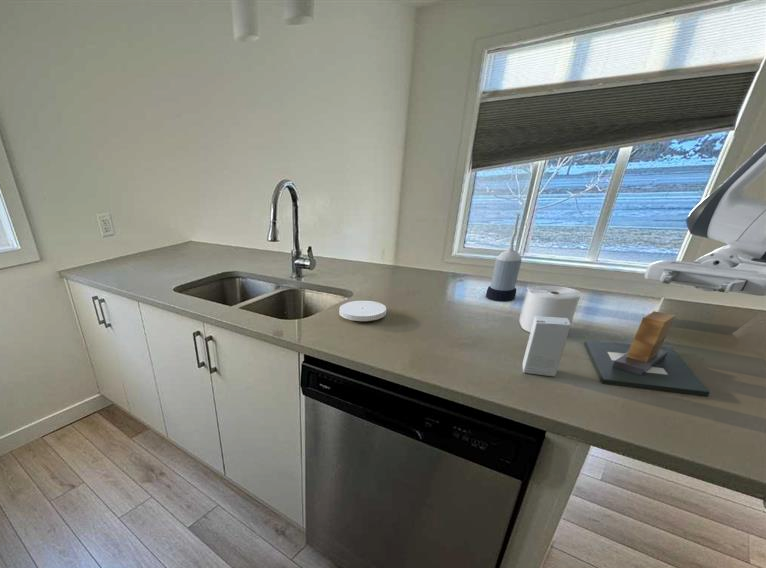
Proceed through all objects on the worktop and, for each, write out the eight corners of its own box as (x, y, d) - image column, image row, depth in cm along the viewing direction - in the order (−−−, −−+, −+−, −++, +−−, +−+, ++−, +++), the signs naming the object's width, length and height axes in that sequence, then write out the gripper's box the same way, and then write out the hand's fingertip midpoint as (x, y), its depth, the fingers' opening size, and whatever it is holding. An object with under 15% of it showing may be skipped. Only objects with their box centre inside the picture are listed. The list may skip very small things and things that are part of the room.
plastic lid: (384, 325, 117) (385, 317, 116) (336, 323, 122) (336, 315, 120) (386, 308, 129) (387, 301, 127) (342, 307, 133) (342, 300, 132)
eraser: (665, 357, 87) (687, 311, 82) (641, 375, 82) (663, 327, 77) (636, 350, 91) (655, 306, 86) (611, 366, 86) (630, 320, 81)
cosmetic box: (552, 368, 89) (569, 317, 83) (555, 378, 86) (573, 325, 80) (520, 364, 92) (534, 314, 86) (521, 373, 88) (536, 322, 82)
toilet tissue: (564, 340, 100) (577, 301, 95) (510, 330, 108) (519, 293, 103) (572, 325, 107) (584, 289, 102) (520, 317, 114) (529, 282, 109)
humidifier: (491, 291, 134) (509, 211, 122) (518, 296, 129) (540, 212, 116) (481, 298, 130) (498, 215, 117) (509, 303, 124) (530, 216, 112)
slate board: (670, 351, 91) (672, 347, 91) (707, 396, 76) (710, 391, 75) (583, 343, 98) (585, 339, 97) (601, 383, 83) (603, 379, 82)
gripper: (664, 251, 99) (639, 262, 94) (791, 263, 84) (770, 278, 78) (653, 276, 103) (629, 288, 97) (774, 293, 87) (753, 309, 81)
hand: (693, 284), depth 87 cm, fingers open, 8 cm apart
